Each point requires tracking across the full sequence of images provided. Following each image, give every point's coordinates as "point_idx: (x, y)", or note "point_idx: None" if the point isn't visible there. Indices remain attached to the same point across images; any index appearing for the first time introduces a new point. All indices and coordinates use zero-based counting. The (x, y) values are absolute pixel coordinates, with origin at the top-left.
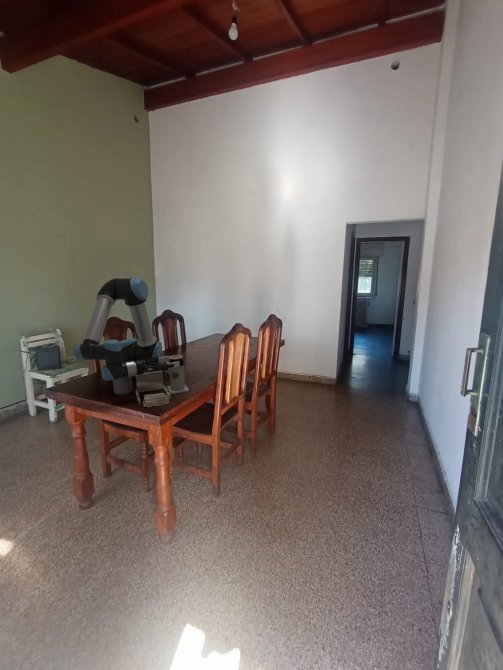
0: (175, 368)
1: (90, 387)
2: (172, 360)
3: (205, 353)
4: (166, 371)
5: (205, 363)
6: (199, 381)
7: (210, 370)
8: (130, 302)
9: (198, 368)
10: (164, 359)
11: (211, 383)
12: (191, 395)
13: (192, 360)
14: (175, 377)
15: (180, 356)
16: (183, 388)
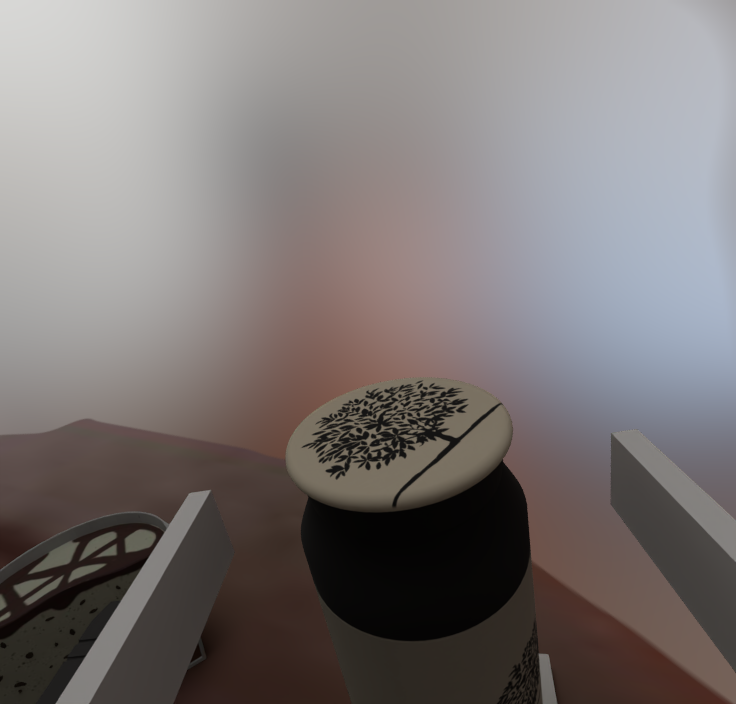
0: (528, 581)
1: None
2: (474, 499)
3: (37, 434)
4: (22, 700)
5: (136, 455)
6: None
7: (244, 457)
8: None
9: (158, 491)
10: (184, 608)
11: None
12: (693, 683)
13: (27, 488)
14: (535, 692)
15: (423, 389)
16: None
